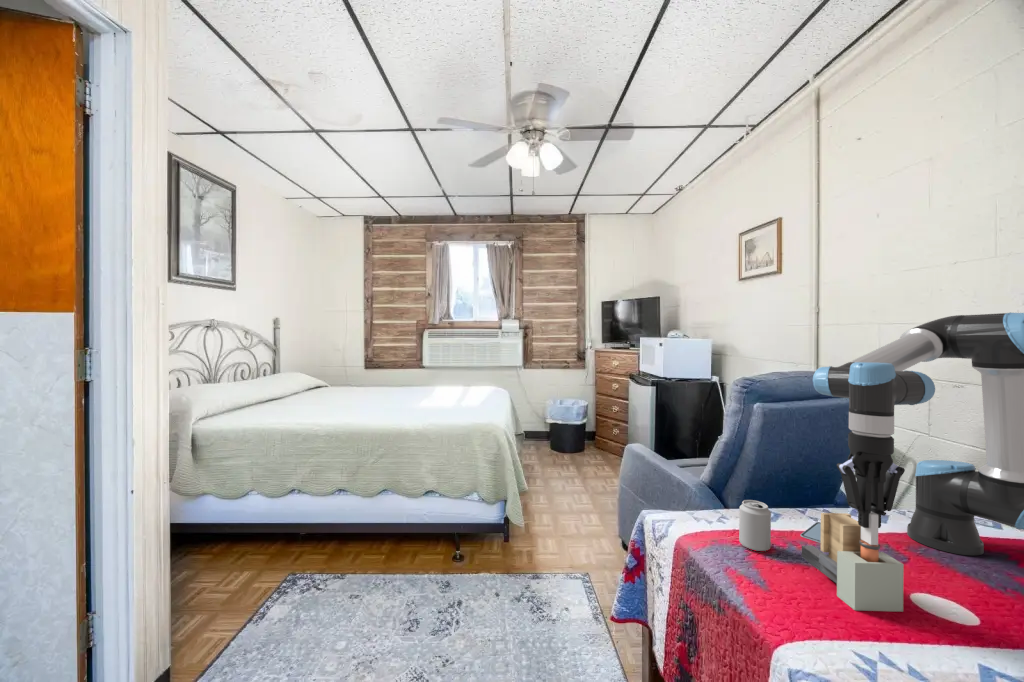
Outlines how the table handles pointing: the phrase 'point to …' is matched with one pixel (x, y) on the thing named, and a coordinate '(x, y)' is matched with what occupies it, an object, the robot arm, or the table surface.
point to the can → (755, 525)
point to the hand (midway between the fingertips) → (869, 541)
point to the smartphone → (813, 532)
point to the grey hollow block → (870, 582)
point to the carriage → (837, 540)
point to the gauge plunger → (869, 551)
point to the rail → (812, 556)
